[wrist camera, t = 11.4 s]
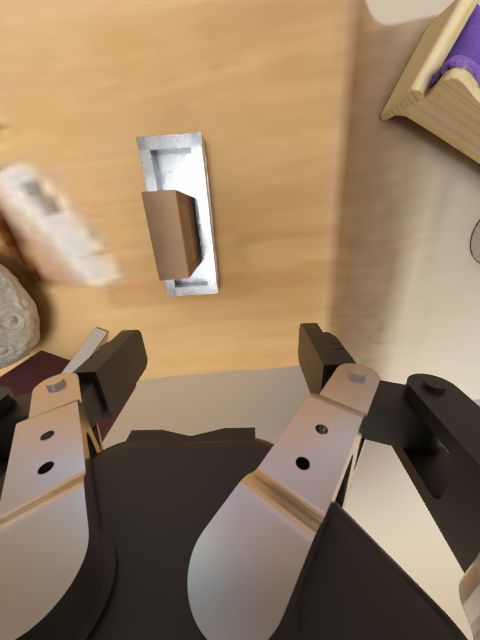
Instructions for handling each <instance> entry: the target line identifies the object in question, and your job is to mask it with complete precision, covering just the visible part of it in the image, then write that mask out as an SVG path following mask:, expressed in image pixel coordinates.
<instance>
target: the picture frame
mask: <svg viewBox="0 0 480 640" xmlns="http://www.w3.org/2000/svg"><path fill="white" fill-rule="evenodd" d="M106 333H107V332H106V331H104V330H101V329H98V328H95V330H94V331H93V332H92V334H91V335H90V336H89V338H88V339H87V340H86V341H85V343H84V344H83V345H82V347H81V348H80V349H79V351H78V352H77V353H76V355H75V356H74V357H73V359H72V360H71V361H69V360H66V359H63V358H61V357H58V356H55V355H52V354H49V353H46V352H44V351H39V352H38V353H36V354H35V355H33V356H32V357H30V358H29V359H27V360H26V361H24V362H23V363H21V364H20V365H18V366H16V367H15V368H13V369H12V370H10V371H9V372H7V373H6V374H4V375H3V376H1V377H0V386H6V387H8V388H9V389H10V391H11V392H12V394H13V396H14V397H15V396H20V395H24V394H29V393H32V392H33V390H34V388H35V387H36V386H37V385H38V384H40V383H41V382H43V381H44V380H46V379H48V378H50V377H53V376H55V375H59V374H63V373H72V372H74V371H75V370H76V369H77V368H78V367H79V366H80V365H81V364H82V363H83V362H85V361H86V360H87V359H88V358H89V357H90V356H91V355H92V353H93V352H94V350H95V349H96V348H97V346H98V345H99V343H100V342H101V341H102V339H103V338H104V336H105V335H106ZM135 387H136V384H135V386H134V387H133V389H132V390H131V392H130V393H129V395H128V396H127V398H126V399H125V401H124V403H123V404H122V406H121V407H120V409H119V410H118V412H117V413H116V415H115V416H114V418H113V419H99V421H98V422H97V424H98V427H99V430H100V434H101V439H102V442H103V440H104V439H105V437H106V435H107V434H108V432H109V430H110V429H111V427H112V425H113V424H114V422H115V420H116V419H117V417H118V415H119V414H120V412H121V411H122V409H123V407H124V406H125V404H126V402H127V401H128V399H129V397H130V395H131V394H132V392H133V390H134V389H135ZM0 500H1V496H0Z"/></svg>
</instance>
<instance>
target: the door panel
mask: <svg viewBox="0 0 480 640" xmlns="http://www.w3.org/2000/svg"><path fill="white" fill-rule="evenodd" d="M141 193H142V198H143V203H144V207H145V212H146V217H147V222H148V226H149V231H150V236H151V241H152V246H153V250H154V255H155V260H156V265H157V270H158V274H159V279H160V280H175V279H189V278H190V277H191V275H192V274H193V273H194V271H195V270H196V269H197V268H198V266H199V265H200V264H201V262H202V253H201V245H200V238H199V230H198V222H197V214H196V207H195V199H194V197H192V196H190V195H187V194H185V193H182V192H180V191H177V190H161V191H148V192H141Z"/></svg>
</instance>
